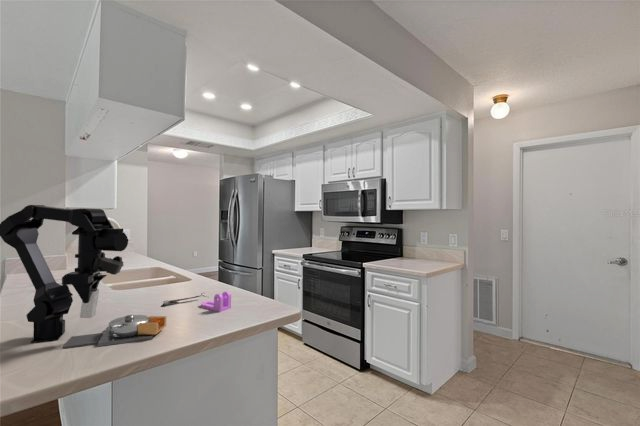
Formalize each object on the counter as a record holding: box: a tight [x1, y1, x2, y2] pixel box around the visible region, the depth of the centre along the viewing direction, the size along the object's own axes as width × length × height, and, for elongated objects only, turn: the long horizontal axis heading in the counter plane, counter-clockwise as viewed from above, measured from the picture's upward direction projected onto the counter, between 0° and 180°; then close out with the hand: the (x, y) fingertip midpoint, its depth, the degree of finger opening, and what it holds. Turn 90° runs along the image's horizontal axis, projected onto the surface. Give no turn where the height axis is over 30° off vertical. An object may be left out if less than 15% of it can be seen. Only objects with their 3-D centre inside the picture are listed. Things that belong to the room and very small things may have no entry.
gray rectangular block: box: [79, 288, 100, 319], centre depth 94 cm, size 3×3×8 cm
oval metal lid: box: [108, 314, 167, 337], centre depth 99 cm, size 16×11×4 cm
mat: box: [62, 332, 104, 350], centre depth 93 cm, size 8×8×1 cm
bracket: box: [200, 290, 232, 313], centre depth 128 cm, size 13×6×7 cm, turn 61°
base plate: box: [97, 326, 154, 347], centre depth 99 cm, size 14×14×1 cm
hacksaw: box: [160, 292, 208, 308], centre depth 139 cm, size 24×10×2 cm, turn 135°
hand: (88, 301), depth 94 cm, fingers closed on gray rectangular block, 3 cm apart
